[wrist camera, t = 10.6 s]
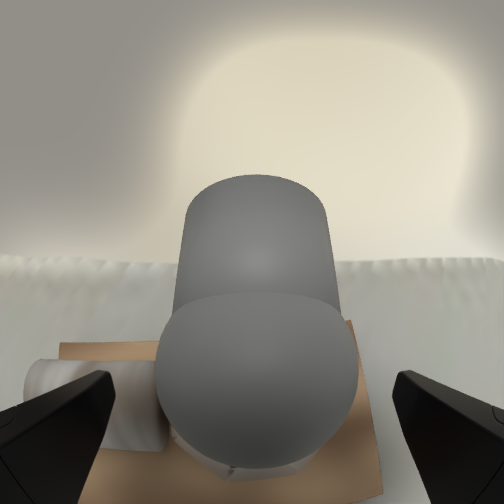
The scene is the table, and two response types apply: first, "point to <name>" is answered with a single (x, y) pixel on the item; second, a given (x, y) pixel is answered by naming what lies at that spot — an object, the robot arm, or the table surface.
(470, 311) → the table surface
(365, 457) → the board
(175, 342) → the elbow
